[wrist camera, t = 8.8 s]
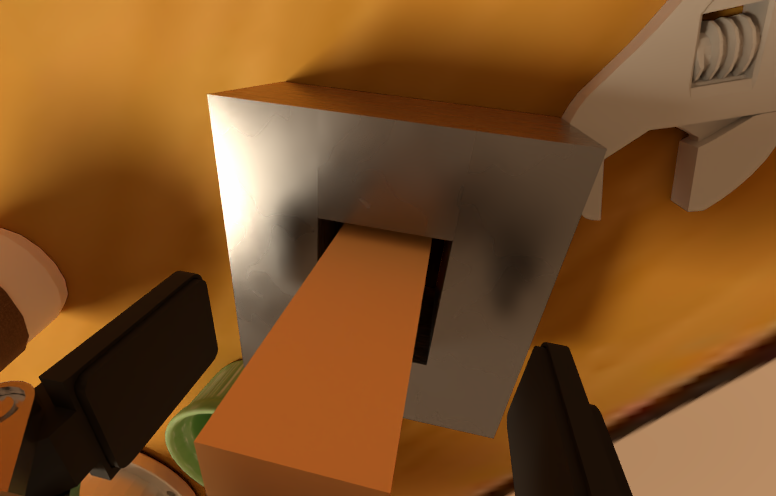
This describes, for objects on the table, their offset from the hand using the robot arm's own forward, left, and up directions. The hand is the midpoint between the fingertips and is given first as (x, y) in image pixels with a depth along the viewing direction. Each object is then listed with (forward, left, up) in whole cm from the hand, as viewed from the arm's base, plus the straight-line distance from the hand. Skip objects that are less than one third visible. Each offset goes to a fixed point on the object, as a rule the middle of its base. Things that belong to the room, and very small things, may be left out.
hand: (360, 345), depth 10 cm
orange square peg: (0, 0, -7) cm, 7 cm away
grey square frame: (0, 0, -7) cm, 7 cm away
